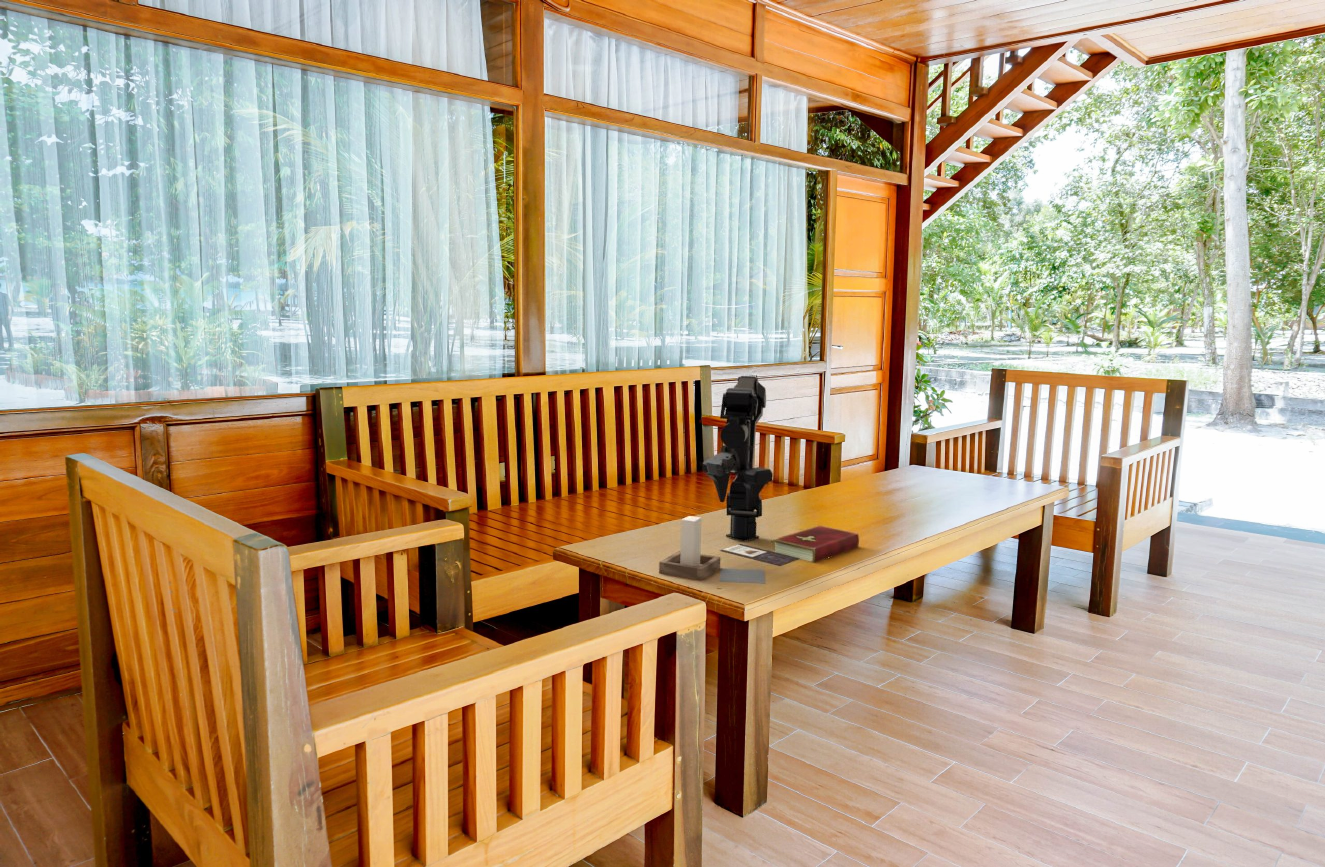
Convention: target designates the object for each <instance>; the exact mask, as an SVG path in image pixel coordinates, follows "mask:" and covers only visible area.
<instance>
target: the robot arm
mask: <svg viewBox="0 0 1325 867" xmlns="http://www.w3.org/2000/svg"><path fill="white" fill-rule="evenodd" d="M721 400H722V401H721V409H720V414H719V417H720V419H721V420H726V424H725V425H724V426H723V427H722V429H721V431H720V435H719V436H720V440H721V442H722V444H723V445H721V448H720V452H719V453H717V454H714V455H712V456H711V457H709V458H708V459H705V460H704V461H703V462H702V470H701V471H702V472H704V473H705V475H706V476H708V477H709V478H710V479H711V480H712V481H713V483H714V486H715V490H716V492H717V497H718V498H719V499H718V500H719V502H720V503H724V502H725V501H726V502H725V503H726V516H728V517H729V516H730V528H729V530H730V532H729V533H727V534H725V537H726V538H730V539H733V540H736V541H740V542H747V541H752V540H756V539H759V538H760V536H759V535H757V518H758V519H759V517H762V516H763V500H762V498H761V495H760V493H761V491H762V490H763V489H764V487H765V485H768V484H769V482H773V476H774V475H773V474H774V473H773V471H772V470H771V469H770V468H767V467H761V466H758V467H754V464H755V447H756V434H757V432H756V431H757V424H758V423H759V421H760V419H762V417H763V414H764V409H766V407H767V392H766V387H765V386H763V384H761V383H760V382H759V377H756V376H755V375H754V376H753V375H741V376H738V377H737V383H736V384H735V385H734V386H733V387H728V388H727V389H726V390H725V392H723V393H722V399H721ZM731 474H733V475H736V477H735V478H734V479H733V481H732V482H731V483H730V485H729V482H730V476H731ZM728 488H729V492H728Z"/></svg>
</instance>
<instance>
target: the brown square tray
mask: <svg viewBox="0 0 1325 867" xmlns="http://www.w3.org/2000/svg"><path fill="white" fill-rule="evenodd" d="M680 553H681V550H677V551H676V552H675V553H673V554H670V556H667V557H666V558H664V559H662V560H660V561H659V564H658V573H659V574H663V575H668V576H675V577H681V578H688V579H692V580H699V581H702V580H704V579H706V578H707V577H709V576H711V575H712V574H713V573H714V572H716V571H718V570H720V569H721V557H720V556H714V555H707V554H701V553H700V564H702V566H700V567H697V566H691V565H685V564H680Z"/></svg>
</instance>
